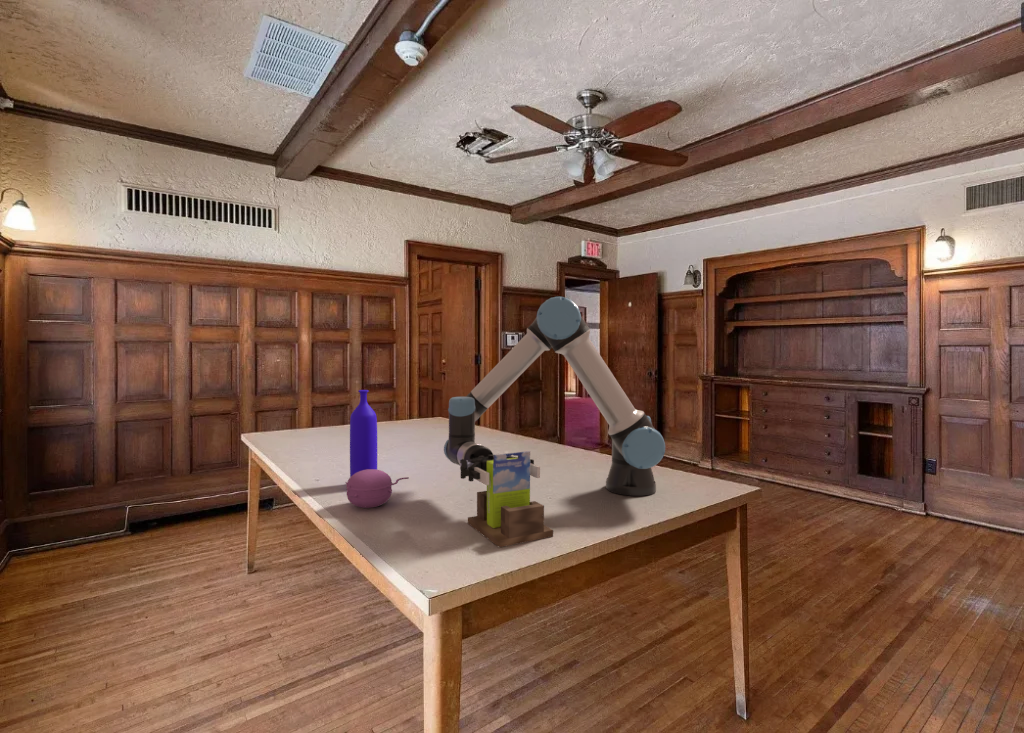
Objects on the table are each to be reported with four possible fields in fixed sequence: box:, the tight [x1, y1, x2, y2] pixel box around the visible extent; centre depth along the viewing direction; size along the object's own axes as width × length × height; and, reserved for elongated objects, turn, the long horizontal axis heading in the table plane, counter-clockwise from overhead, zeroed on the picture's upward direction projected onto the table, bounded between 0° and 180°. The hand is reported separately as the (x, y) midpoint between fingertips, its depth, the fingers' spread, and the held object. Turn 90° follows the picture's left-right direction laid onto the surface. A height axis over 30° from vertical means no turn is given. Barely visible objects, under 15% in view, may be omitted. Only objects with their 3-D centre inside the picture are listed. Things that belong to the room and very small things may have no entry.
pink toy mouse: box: [345, 469, 410, 509], centre depth 140 cm, size 12×19×10 cm, turn 120°
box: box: [486, 450, 531, 528], centre depth 121 cm, size 10×4×17 cm, turn 120°
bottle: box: [349, 389, 378, 478], centre depth 159 cm, size 8×8×30 cm
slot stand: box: [467, 490, 554, 548], centre depth 121 cm, size 14×17×8 cm
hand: (514, 475), depth 119 cm, fingers open, 13 cm apart
